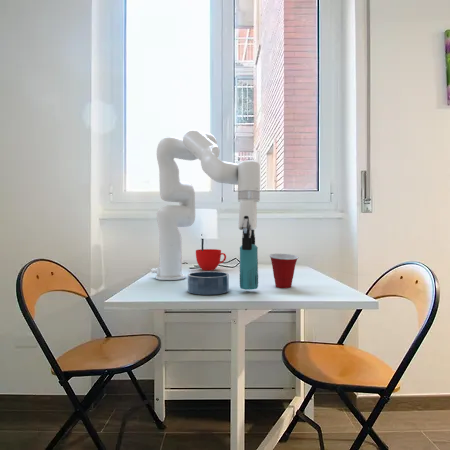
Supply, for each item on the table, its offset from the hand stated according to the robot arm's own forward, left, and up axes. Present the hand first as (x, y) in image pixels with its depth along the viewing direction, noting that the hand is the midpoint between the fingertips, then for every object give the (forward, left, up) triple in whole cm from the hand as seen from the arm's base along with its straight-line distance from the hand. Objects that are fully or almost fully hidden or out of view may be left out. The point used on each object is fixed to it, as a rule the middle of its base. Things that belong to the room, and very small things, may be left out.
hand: (248, 248), depth 121 cm
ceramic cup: (-28, +52, -15) cm, 61 cm away
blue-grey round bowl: (-14, -2, -15) cm, 21 cm away
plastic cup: (+11, +13, -15) cm, 23 cm away
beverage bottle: (0, 0, -15) cm, 15 cm away
